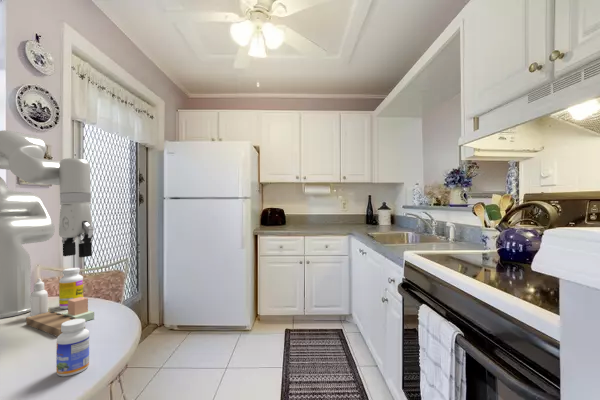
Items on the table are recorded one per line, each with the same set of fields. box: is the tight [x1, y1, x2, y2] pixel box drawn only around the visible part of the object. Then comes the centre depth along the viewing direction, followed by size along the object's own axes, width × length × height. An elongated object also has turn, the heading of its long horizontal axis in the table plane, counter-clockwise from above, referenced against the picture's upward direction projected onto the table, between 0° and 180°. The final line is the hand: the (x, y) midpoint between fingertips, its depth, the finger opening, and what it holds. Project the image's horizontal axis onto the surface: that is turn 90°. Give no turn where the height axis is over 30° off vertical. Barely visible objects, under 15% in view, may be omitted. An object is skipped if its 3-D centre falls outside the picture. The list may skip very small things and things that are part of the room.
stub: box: [61, 296, 95, 322], centre depth 90 cm, size 8×5×6 cm, turn 61°
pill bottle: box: [55, 319, 90, 377], centre depth 61 cm, size 5×5×10 cm
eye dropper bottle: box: [30, 277, 49, 317], centre depth 93 cm, size 4×6×12 cm
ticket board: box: [25, 310, 86, 337], centre depth 85 cm, size 20×6×2 cm, turn 61°
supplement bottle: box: [58, 267, 84, 310], centre depth 103 cm, size 7×7×13 cm
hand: (77, 256), depth 90 cm, fingers open, 9 cm apart
